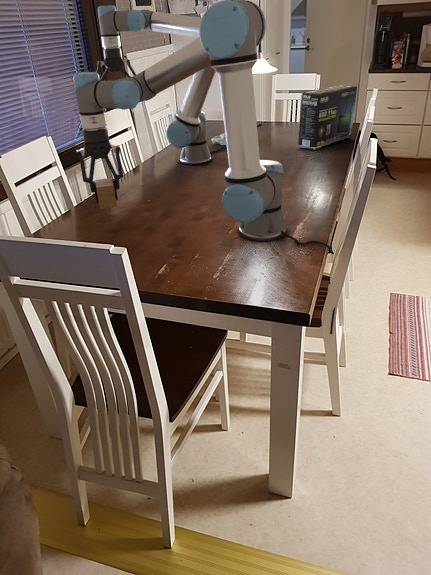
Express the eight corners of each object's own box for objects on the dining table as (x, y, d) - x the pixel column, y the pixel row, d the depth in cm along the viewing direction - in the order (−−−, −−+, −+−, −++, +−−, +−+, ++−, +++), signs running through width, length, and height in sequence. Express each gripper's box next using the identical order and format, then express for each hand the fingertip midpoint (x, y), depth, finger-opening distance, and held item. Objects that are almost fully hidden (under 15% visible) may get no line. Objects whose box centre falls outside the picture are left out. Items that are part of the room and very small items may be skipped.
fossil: (235, 141, 239) (215, 122, 242) (224, 158, 245) (206, 140, 249) (251, 139, 253) (233, 122, 256) (241, 155, 259) (223, 138, 262)
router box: (314, 151, 231) (318, 94, 217) (296, 148, 237) (299, 92, 224) (352, 138, 251) (358, 85, 238) (335, 135, 258) (340, 83, 245)
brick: (98, 200, 156) (94, 179, 152) (114, 198, 157) (111, 177, 153) (100, 209, 149) (96, 187, 145) (117, 206, 150) (113, 185, 147)
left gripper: (82, 49, 191) (91, 103, 202) (141, 46, 196) (147, 99, 207) (81, 48, 197) (90, 101, 208) (139, 45, 203) (145, 97, 213)
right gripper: (63, 133, 136) (78, 207, 147) (126, 127, 140) (136, 200, 151) (63, 128, 142) (78, 200, 154) (123, 122, 146) (133, 192, 158)
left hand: (118, 100), depth 208 cm, fingers open, 13 cm apart
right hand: (107, 200), depth 153 cm, fingers closed on brick, 6 cm apart
